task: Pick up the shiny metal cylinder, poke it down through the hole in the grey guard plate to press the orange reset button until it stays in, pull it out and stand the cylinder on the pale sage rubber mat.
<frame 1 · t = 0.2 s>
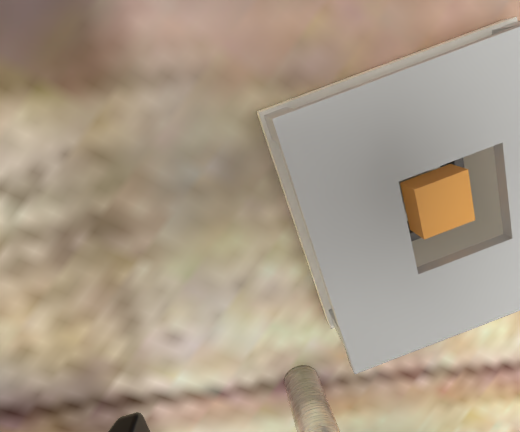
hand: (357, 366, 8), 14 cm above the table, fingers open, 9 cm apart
shiny metal cylinder: (301, 379, 26), on the table
grey square-hole box: (405, 185, 22), on the table
button: (437, 201, 19), point 3 cm above the table, slide at 0.0 cm
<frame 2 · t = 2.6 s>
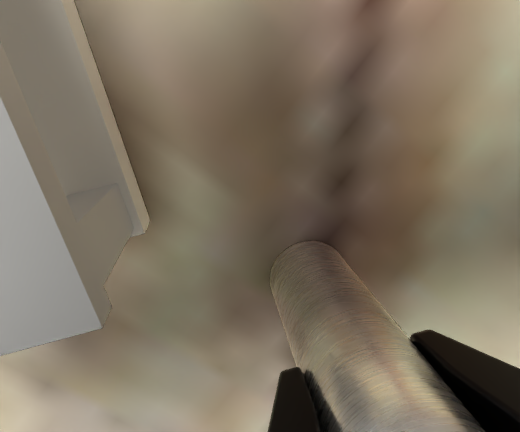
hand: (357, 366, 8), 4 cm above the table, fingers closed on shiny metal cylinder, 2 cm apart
shiny metal cylinder: (307, 276, 12), on the table, touching gripper
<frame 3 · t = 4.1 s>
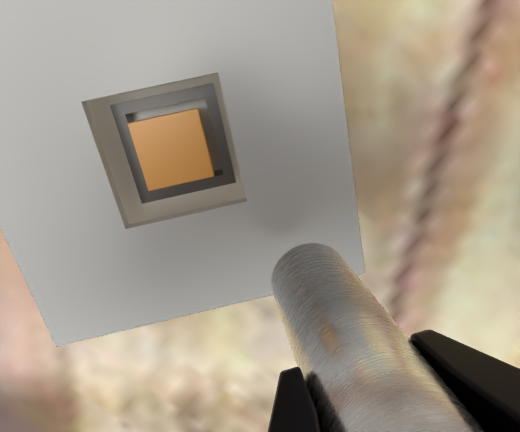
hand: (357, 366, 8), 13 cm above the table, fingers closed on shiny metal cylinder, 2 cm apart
shiny metal cylinder: (309, 278, 12), point 9 cm above the table, touching gripper
grey square-hole box: (180, 139, 19), on the table
button: (174, 148, 16), point 3 cm above the table, slide at 0.0 cm
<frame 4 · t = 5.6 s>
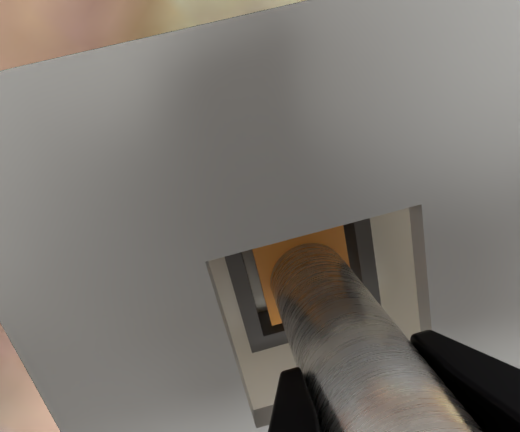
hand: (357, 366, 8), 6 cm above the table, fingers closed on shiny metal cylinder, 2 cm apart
shiny metal cylinder: (308, 278, 12), point 2 cm above the table, touching button, gripper
grey square-hole box: (289, 245, 14), on the table
button: (300, 266, 12), point 2 cm above the table, slide at 1.5 cm, touching shiny metal cylinder
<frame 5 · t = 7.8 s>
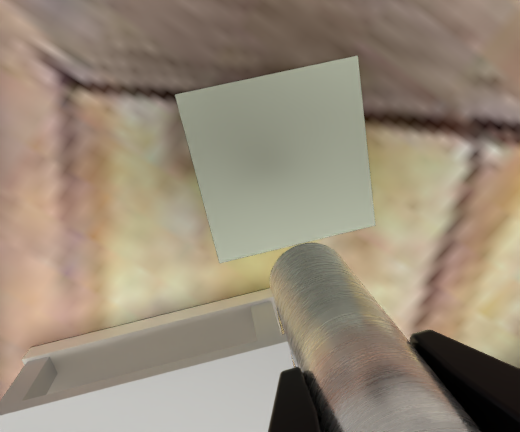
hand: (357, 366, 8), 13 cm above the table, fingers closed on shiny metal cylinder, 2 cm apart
mat: (282, 164, 20), on the table
shiny metal cylinder: (307, 278, 12), point 9 cm above the table, touching gripper
grey square-hole box: (185, 408, 24), on the table
when the fingers open (6 cm above the table, at t = 9.6 s): shiny metal cylinder drops 1 cm, resting on mat.
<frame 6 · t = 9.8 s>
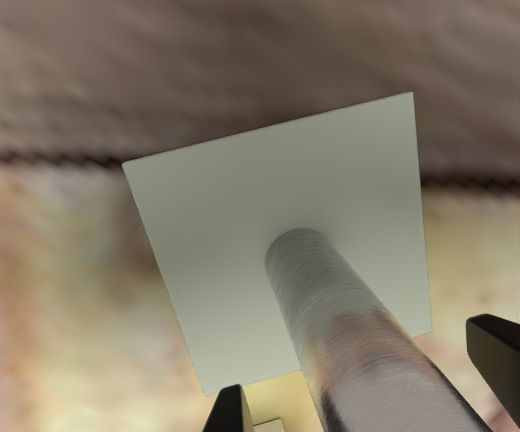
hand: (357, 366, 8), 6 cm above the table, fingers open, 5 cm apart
mat: (295, 254, 13), on the table
shiny metal cylinder: (299, 261, 13), resting on mat
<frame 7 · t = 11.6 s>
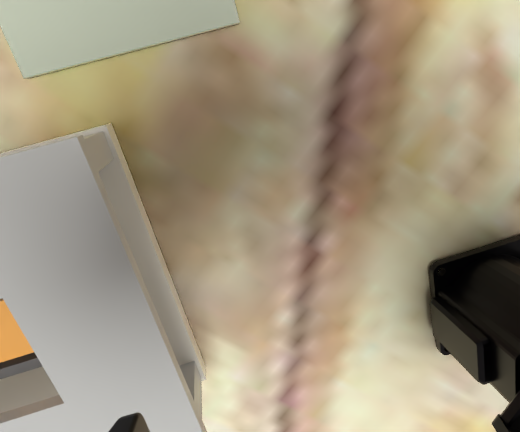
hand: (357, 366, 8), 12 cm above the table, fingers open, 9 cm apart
grey square-hole box: (26, 301, 18), on the table
button: (9, 322, 17), point 2 cm above the table, slide at 1.6 cm
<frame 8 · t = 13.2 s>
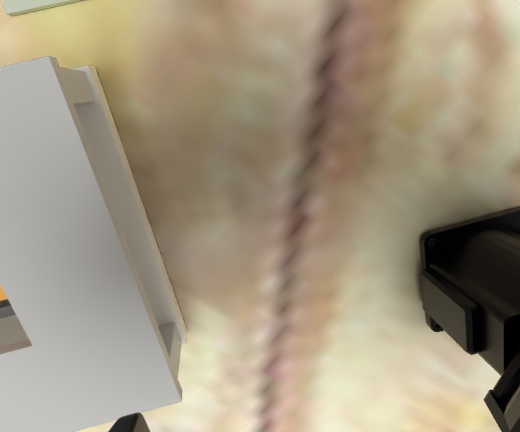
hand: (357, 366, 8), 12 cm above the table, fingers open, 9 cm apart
grey square-hole box: (4, 252, 18), on the table
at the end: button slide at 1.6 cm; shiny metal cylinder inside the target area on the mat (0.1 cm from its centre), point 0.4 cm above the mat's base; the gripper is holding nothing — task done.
